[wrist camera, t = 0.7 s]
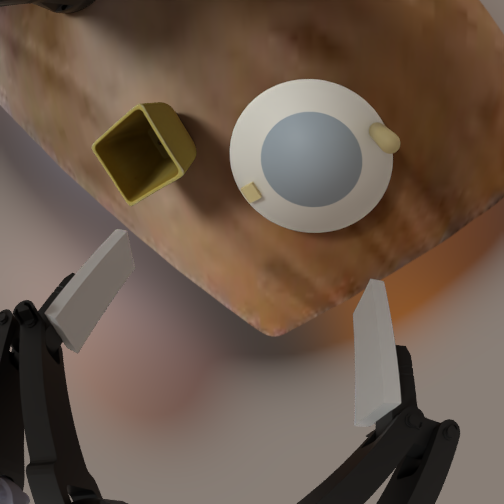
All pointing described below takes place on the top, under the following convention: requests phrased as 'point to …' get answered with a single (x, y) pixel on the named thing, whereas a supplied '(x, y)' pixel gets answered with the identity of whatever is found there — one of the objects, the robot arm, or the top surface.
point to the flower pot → (145, 150)
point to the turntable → (312, 155)
